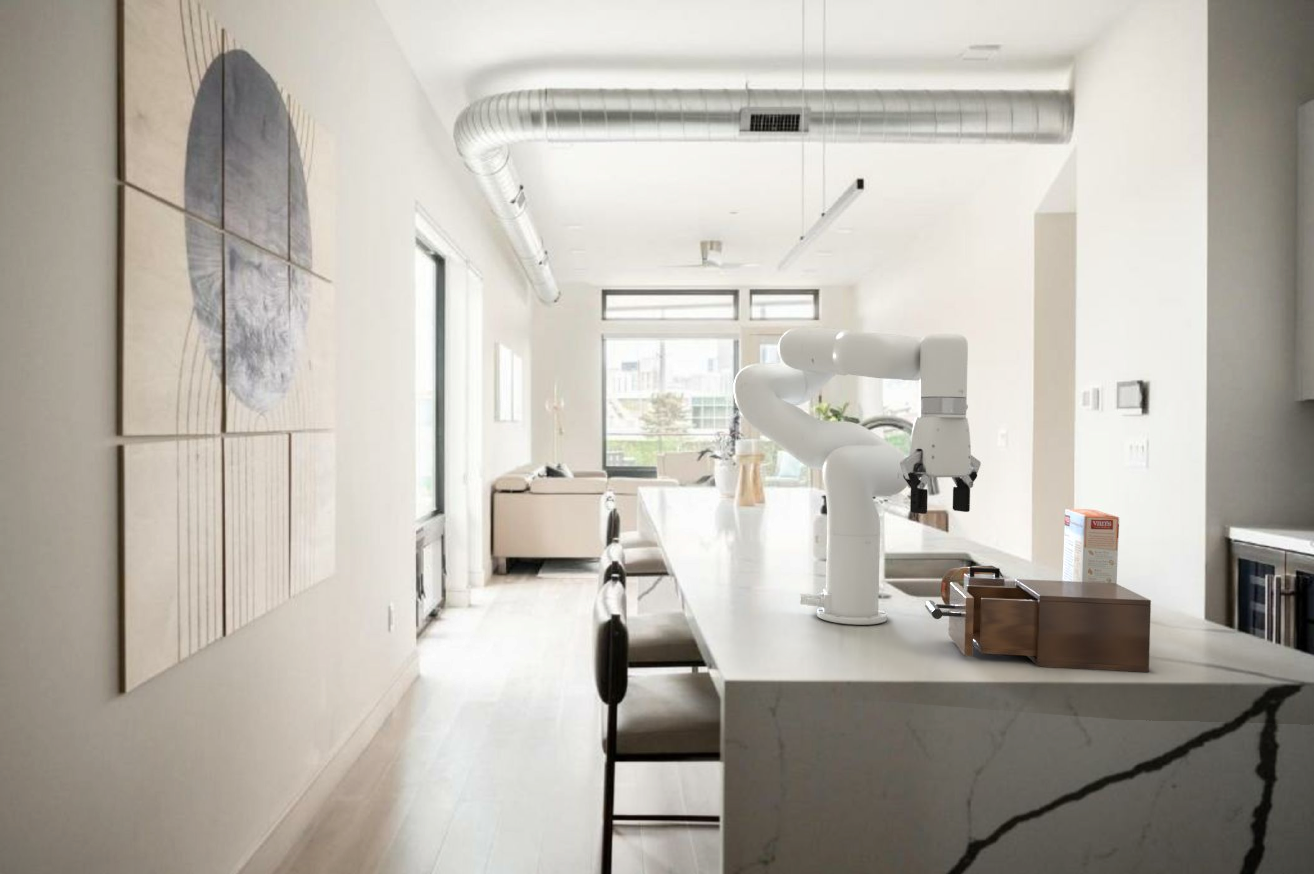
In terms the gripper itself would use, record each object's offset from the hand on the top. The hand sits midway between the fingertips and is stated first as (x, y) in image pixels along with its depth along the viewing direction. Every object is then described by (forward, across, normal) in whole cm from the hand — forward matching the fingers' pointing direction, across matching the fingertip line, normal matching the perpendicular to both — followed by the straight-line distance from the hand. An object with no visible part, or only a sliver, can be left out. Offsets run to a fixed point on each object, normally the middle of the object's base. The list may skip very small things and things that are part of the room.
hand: (940, 512), depth 153 cm
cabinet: (+21, -12, +18) cm, 30 cm away
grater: (+21, -12, -1) cm, 25 cm away
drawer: (+20, -1, +10) cm, 23 cm away
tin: (+21, -25, -16) cm, 37 cm away
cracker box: (+21, -30, +6) cm, 38 cm away
